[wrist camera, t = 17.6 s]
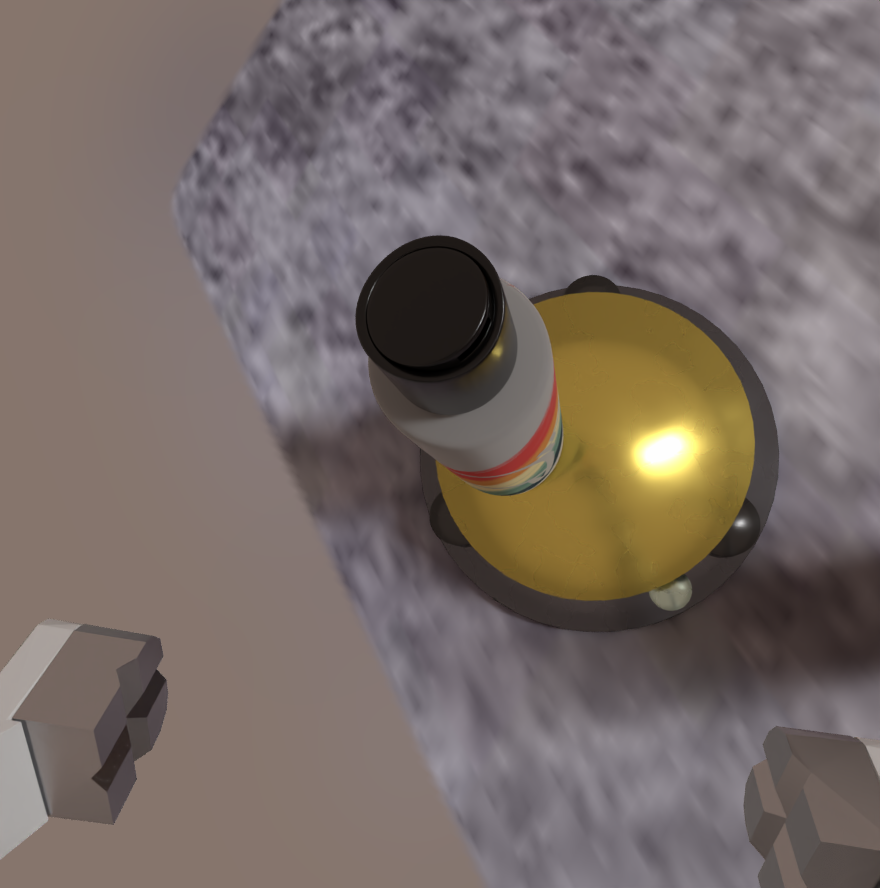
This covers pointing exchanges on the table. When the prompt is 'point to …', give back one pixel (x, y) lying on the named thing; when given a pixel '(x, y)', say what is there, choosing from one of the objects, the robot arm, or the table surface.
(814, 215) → the table surface
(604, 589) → the levelling base
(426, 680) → the table surface
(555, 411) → the lotion bottle
